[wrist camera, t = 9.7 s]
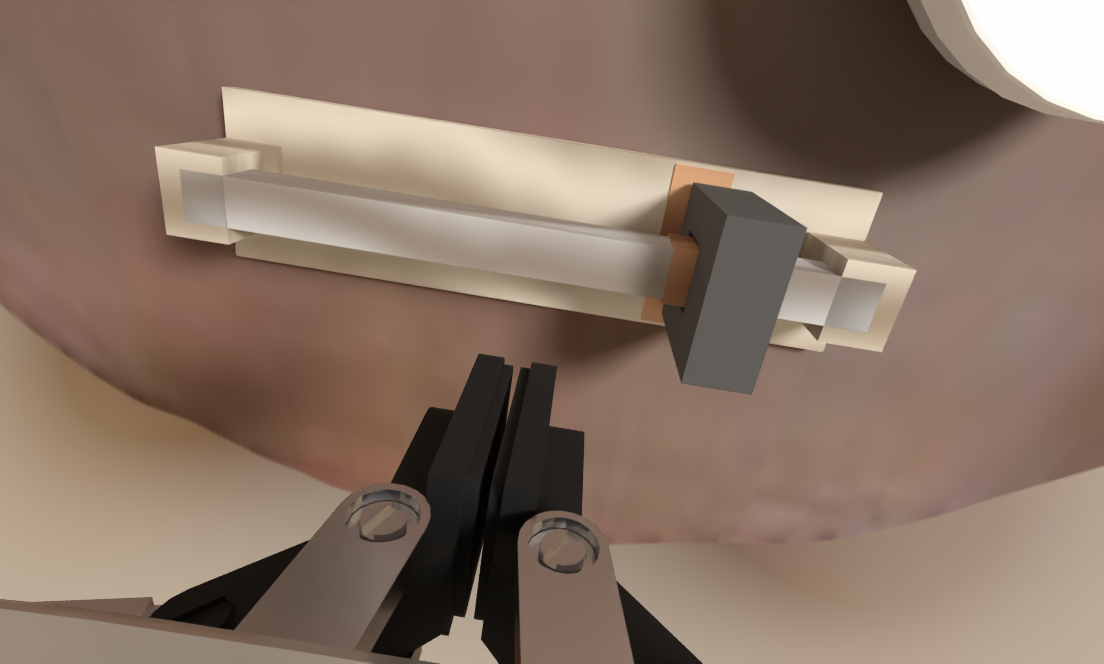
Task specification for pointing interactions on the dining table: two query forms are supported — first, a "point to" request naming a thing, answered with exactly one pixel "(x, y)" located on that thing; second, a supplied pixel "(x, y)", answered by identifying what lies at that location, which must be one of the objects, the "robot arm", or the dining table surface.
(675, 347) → the collar
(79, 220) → the dining table surface
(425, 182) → the pipe rig
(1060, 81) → the bowl
